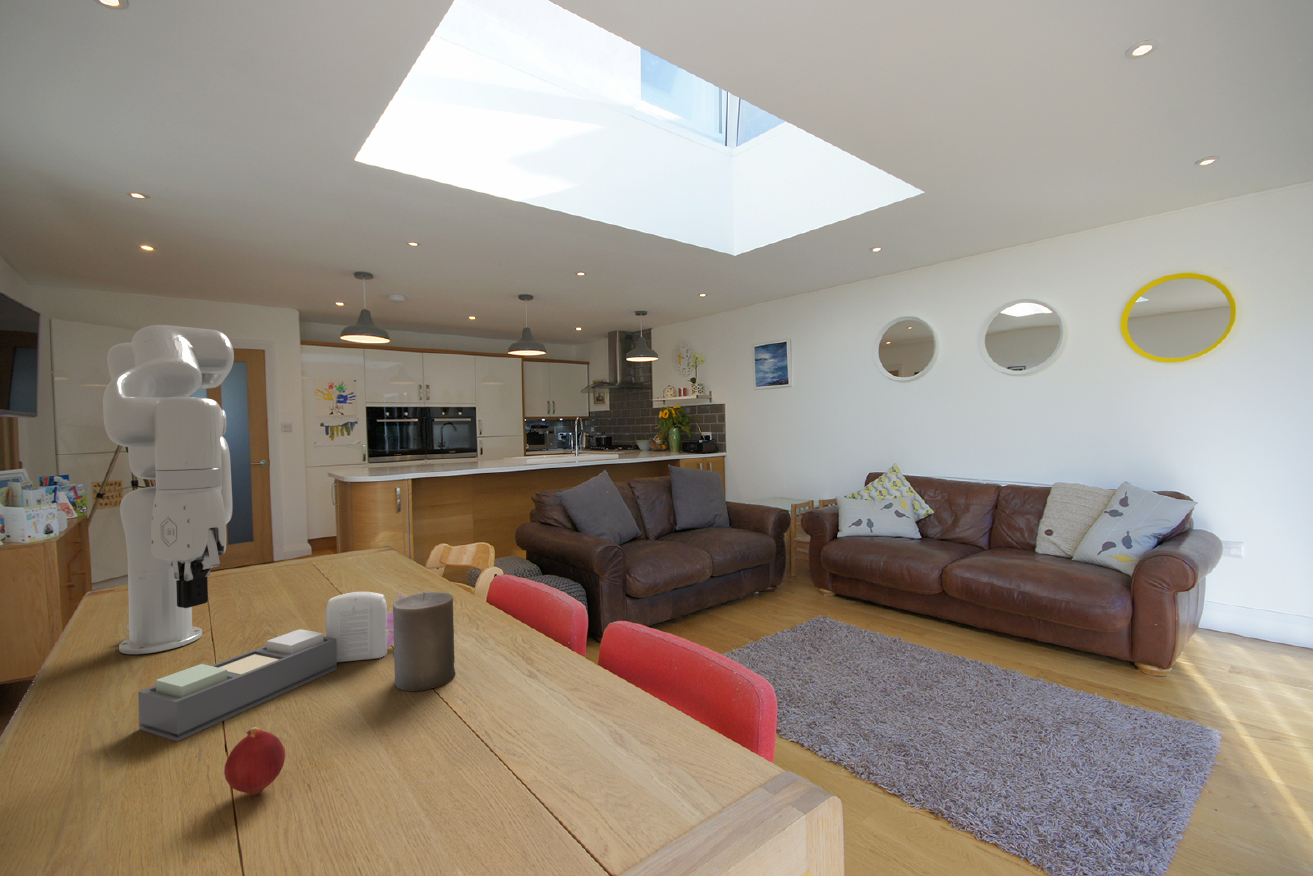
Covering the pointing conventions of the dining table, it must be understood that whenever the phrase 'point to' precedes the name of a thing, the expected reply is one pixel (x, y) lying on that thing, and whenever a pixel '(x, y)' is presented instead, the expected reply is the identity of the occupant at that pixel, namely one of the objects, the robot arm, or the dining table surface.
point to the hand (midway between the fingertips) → (192, 604)
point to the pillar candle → (423, 641)
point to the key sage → (190, 680)
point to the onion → (254, 762)
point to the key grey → (295, 641)
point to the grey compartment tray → (234, 691)
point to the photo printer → (358, 625)
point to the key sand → (248, 664)
